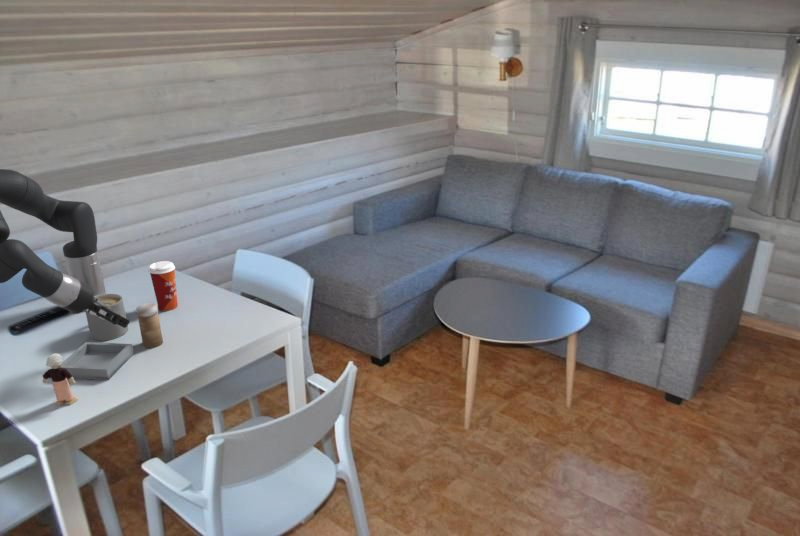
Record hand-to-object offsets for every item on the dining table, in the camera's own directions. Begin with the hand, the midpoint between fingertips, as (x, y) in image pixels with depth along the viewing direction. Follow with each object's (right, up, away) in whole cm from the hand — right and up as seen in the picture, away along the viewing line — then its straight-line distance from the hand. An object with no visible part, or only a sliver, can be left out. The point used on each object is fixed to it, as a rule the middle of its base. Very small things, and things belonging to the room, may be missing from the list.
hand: (118, 318), depth 168 cm
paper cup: (+2, +1, +31) cm, 31 cm away
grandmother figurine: (-5, -18, -17) cm, 26 cm away
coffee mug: (-10, -5, +17) cm, 20 cm away
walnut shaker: (+6, -8, +9) cm, 13 cm away
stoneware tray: (-5, -12, -2) cm, 13 cm away
